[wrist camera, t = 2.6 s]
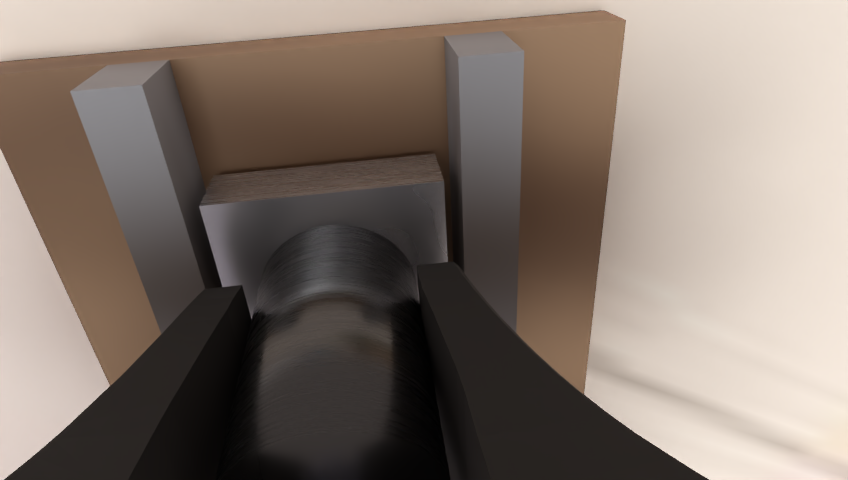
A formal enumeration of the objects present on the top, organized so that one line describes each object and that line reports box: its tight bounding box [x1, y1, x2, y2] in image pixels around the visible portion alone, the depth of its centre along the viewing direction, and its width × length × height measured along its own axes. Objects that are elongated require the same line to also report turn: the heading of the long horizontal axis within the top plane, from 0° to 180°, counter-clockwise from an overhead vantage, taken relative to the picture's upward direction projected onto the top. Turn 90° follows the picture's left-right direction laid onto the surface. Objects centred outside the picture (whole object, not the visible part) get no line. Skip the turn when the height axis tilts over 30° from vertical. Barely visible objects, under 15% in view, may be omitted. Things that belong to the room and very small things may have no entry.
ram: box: [199, 154, 451, 480], centre depth 10 cm, size 7×4×6 cm, turn 4°
